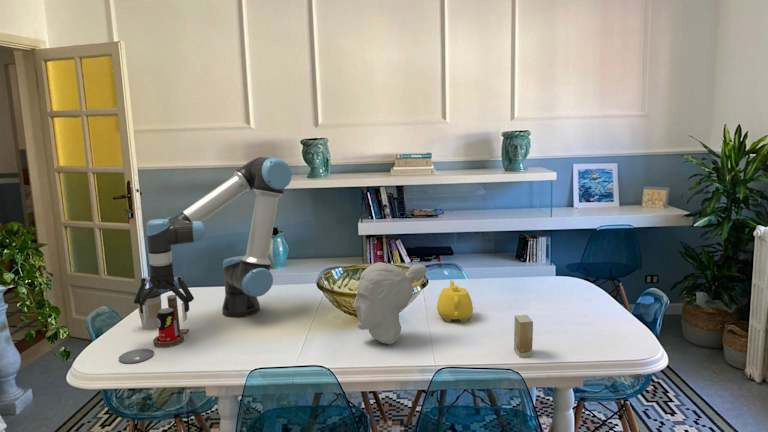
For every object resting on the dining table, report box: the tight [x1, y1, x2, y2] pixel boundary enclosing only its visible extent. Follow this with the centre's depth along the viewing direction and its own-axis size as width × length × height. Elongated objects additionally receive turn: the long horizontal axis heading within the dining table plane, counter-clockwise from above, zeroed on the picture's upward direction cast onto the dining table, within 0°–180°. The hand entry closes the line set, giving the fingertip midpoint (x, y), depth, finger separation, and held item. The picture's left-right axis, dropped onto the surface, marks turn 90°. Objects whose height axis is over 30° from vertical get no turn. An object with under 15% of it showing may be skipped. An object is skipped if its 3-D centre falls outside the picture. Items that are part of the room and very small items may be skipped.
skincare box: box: [513, 314, 534, 358], centre depth 182 cm, size 6×4×12 cm
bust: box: [352, 261, 427, 345], centre depth 196 cm, size 15×26×28 cm, turn 99°
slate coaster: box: [118, 348, 155, 365], centre depth 190 cm, size 11×11×1 cm
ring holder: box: [152, 294, 190, 349], centre depth 204 cm, size 10×16×15 cm, turn 3°
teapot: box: [436, 279, 474, 323], centre depth 218 cm, size 14×20×13 cm
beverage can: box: [157, 307, 179, 342], centre depth 201 cm, size 6×6×12 cm
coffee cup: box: [135, 286, 162, 331], centre depth 217 cm, size 9×9×15 cm
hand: (165, 321), depth 201 cm, fingers open, 13 cm apart
